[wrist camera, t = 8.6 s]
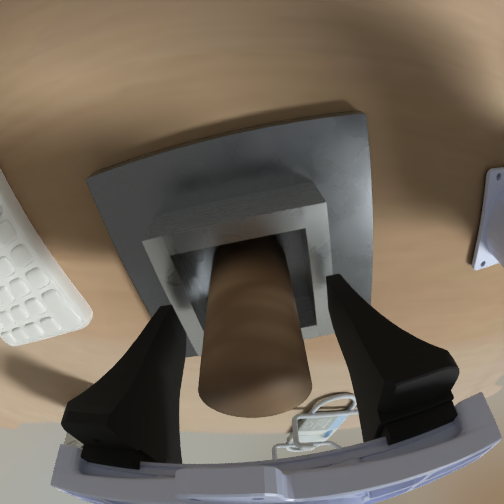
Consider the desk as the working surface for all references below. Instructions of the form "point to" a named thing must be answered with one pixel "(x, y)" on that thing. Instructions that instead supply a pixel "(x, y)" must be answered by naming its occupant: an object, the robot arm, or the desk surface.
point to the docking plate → (245, 213)
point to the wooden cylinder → (252, 333)
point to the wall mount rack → (316, 426)
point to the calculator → (32, 281)
